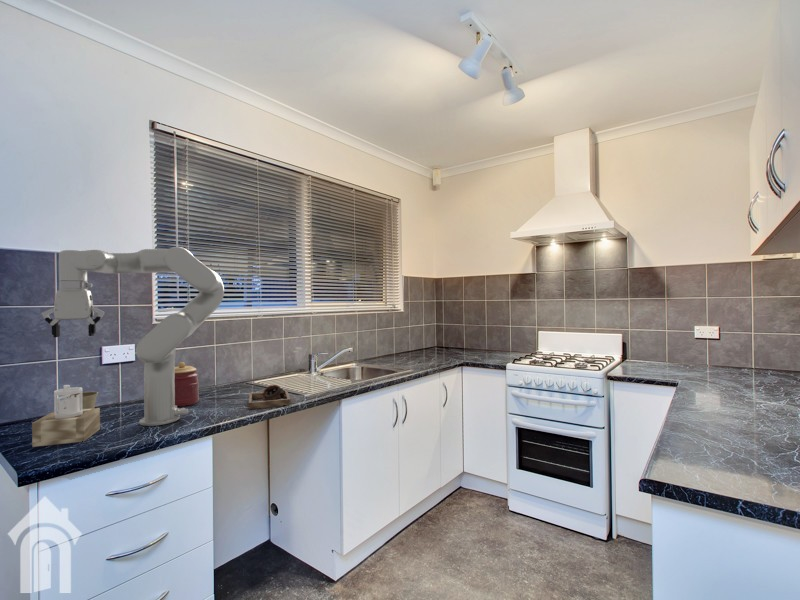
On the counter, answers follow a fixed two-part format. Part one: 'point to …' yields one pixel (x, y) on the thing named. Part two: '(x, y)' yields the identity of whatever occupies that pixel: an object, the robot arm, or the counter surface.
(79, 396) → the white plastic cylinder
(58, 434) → the beech holder block
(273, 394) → the dark brown rounded lump
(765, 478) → the counter surface
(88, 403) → the flower pot
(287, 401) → the wooden tray
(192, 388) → the canister
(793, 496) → the counter surface
